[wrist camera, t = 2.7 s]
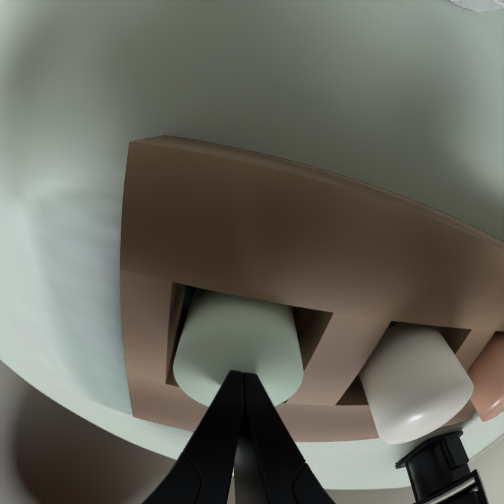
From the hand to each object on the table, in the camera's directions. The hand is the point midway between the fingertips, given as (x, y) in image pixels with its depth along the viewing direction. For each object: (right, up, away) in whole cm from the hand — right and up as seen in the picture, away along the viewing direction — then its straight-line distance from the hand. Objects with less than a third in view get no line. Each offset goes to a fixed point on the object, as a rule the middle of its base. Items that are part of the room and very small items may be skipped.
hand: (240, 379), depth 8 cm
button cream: (+7, -1, +2) cm, 7 cm away
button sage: (0, +2, +3) cm, 4 cm away
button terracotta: (+14, -2, +3) cm, 14 cm away
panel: (+7, 0, +4) cm, 8 cm away
